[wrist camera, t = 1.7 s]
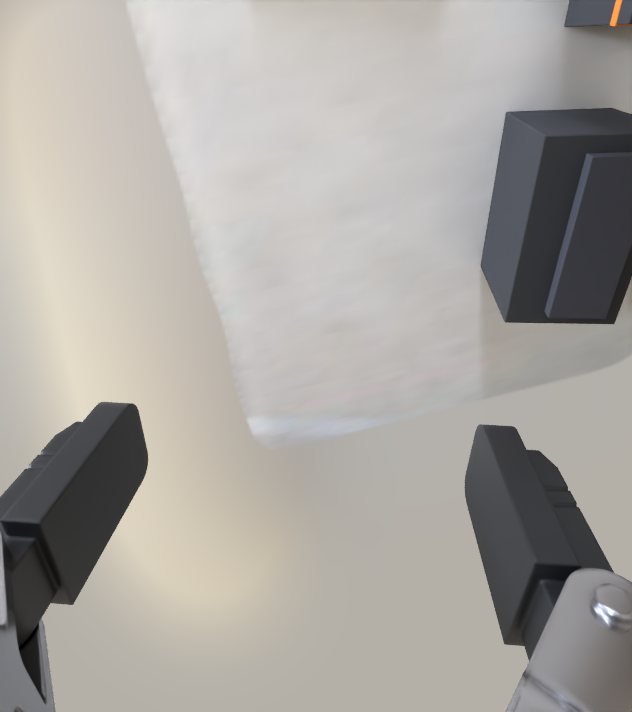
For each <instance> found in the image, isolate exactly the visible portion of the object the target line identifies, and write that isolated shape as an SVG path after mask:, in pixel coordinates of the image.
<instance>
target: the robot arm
mask: <svg viewBox="0 0 632 712" xmlns="http://www.w3.org/2000/svg"><path fill="white" fill-rule="evenodd" d="M147 465H148V453H147V448H146V443H145V438H144V434H143V429H142V425H141V421H140V416H139V411H138V409H137V407H136V405H134V404H129V403H112V402H101V403H99V404H98V405H97V406H96V407H95V408H94V409H93V410H92V412H91V413H90V414H89V415H88V416H87V418H86V419H85V420H84V421H83V422H75V423H74V424H72V425H71V426H69V427H68V428H66V429H65V430H63V431H62V432H60V433H58V434H57V435H55V437H54V438H53V439H52V440H51V441H50V442H49V443H48V444H47V445H46V447H45V448H44V449H43V450H42V451H41V455H38V456H37V457H36V458H35V459H34V460H33V461H32V462H31V463H30V464H29V468H28V469H25V470H24V471H23V472H22V473H21V475H20V476H19V477H18V478H17V479H16V480H15V481H14V482H13V484H12V485H11V486H10V487H9V488H8V489H7V490H6V491H5V492H4V494H3V495H2V496H1V497H0V712H56V711H55V704H54V697H53V690H52V682H51V674H50V666H49V658H48V650H47V642H46V635H45V627H44V623H43V620H42V616H43V614H44V613H45V611H46V609H47V608H48V606H49V605H50V603H57V604H69V605H73V604H74V602H75V600H76V598H77V597H78V595H79V593H80V591H81V589H82V588H83V586H84V584H85V582H86V581H87V579H88V577H89V575H90V573H91V572H92V570H93V568H94V566H95V565H96V563H97V561H98V559H99V557H100V556H101V554H102V552H103V550H104V548H105V547H106V545H107V543H108V541H109V539H110V538H111V536H112V534H113V532H114V531H115V529H116V527H117V525H118V524H119V522H120V520H121V518H122V516H123V515H124V513H125V511H126V509H127V508H128V506H129V504H130V502H131V500H132V499H133V497H134V495H135V493H136V491H137V490H138V488H139V486H140V484H141V483H142V481H143V479H144V476H145V474H146V470H147ZM465 497H466V502H467V506H468V510H469V514H470V517H471V521H472V525H473V529H474V532H475V536H476V539H477V544H478V547H479V551H480V554H481V559H482V562H483V566H484V569H485V573H486V577H487V581H488V585H489V588H490V592H491V596H492V600H493V603H494V607H495V611H496V615H497V618H498V622H499V626H500V629H501V633H502V637H503V641H504V644H507V645H520V646H525V649H526V652H527V656H528V659H529V663H528V665H527V667H526V669H525V671H524V673H523V675H522V677H521V679H520V682H519V684H518V686H517V688H516V690H515V692H514V694H513V697H512V699H511V701H510V703H509V705H508V707H507V710H506V712H632V582H630V581H629V580H627V579H625V578H623V577H622V576H620V575H617V574H615V573H614V572H613V570H612V568H611V566H610V565H609V563H608V561H607V559H606V557H605V555H604V553H603V551H602V550H601V548H600V546H599V544H598V542H597V540H596V538H595V537H594V535H593V533H592V531H591V529H590V527H589V525H588V524H587V522H586V520H585V518H584V516H583V514H582V512H581V511H580V509H579V508H578V507H577V506H576V501H575V500H574V498H573V496H572V494H571V492H570V491H568V487H567V485H566V483H565V481H564V479H563V477H562V475H561V473H560V471H559V470H558V468H557V467H556V466H555V465H554V464H553V463H552V462H551V461H550V460H549V459H547V458H546V457H545V456H544V455H543V454H542V453H541V452H540V451H536V450H526V448H525V446H524V444H523V442H522V439H521V437H520V435H519V434H518V431H517V429H516V428H515V427H512V426H496V425H479V426H478V427H477V429H476V432H475V436H474V441H473V446H472V449H471V454H470V459H469V463H468V467H467V471H466V476H465Z"/></svg>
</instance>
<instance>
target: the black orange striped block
mask: <svg viewBox="0 0 632 712" xmlns="http://www.w3.org/2000/svg"><path fill="white" fill-rule="evenodd" d="M600 25H610V26H629V25H632V0H570V2H569V7H568V12H567V16H566V21H565V27H576V26H600Z"/></svg>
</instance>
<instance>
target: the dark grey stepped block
mask: <svg viewBox="0 0 632 712" xmlns="http://www.w3.org/2000/svg"><path fill="white" fill-rule="evenodd" d="M481 268H482V271H483V273H484V275H485V277H486V280H487V282H488V284H489V287H490V289H491V291H492V293H493V296H494V298H495V300H496V303H497V305H498V307H499V310H500V312H501V314H502V316H503V319H504V321H505V322H515V323H578V324H614V323H615V320H616V318H617V315H618V312H619V310H620V307H621V304H622V302H623V299H624V296H625V294H626V291H627V288H628V285H629V283H630V280H631V277H632V114H629V113H625V112H622V111H619V110H616V109H613V108H602V109H574V110H547V111H519V112H507V113H506V117H505V123H504V129H503V135H502V141H501V147H500V153H499V159H498V165H497V171H496V177H495V183H494V189H493V195H492V201H491V207H490V213H489V219H488V225H487V231H486V237H485V243H484V249H483V255H482V261H481Z"/></svg>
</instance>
